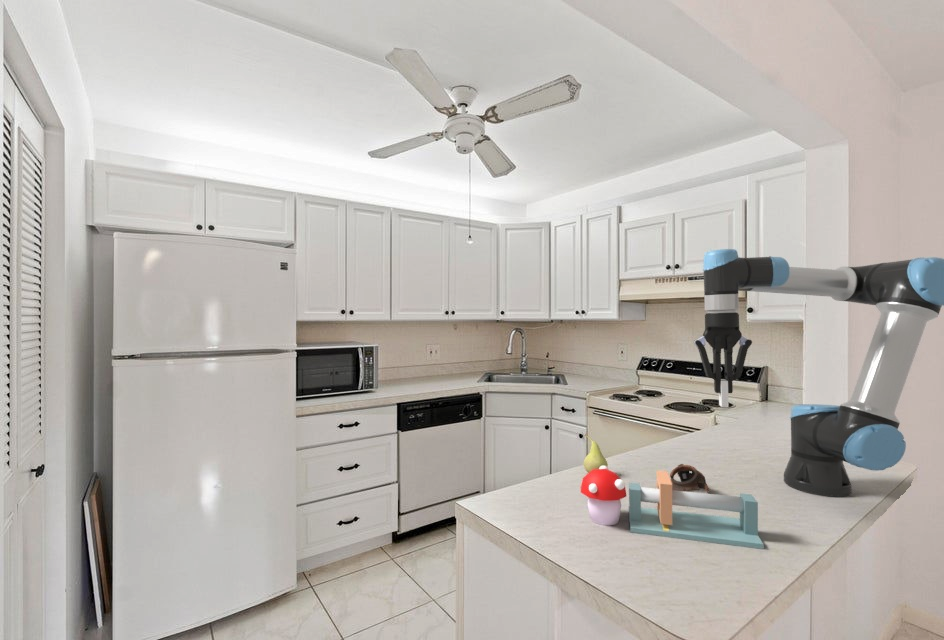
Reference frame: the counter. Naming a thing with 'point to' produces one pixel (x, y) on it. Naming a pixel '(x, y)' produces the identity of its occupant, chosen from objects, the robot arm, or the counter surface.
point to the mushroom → (603, 495)
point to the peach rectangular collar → (664, 497)
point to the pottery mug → (688, 479)
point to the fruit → (594, 458)
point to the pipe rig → (697, 517)
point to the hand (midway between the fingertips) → (723, 406)
